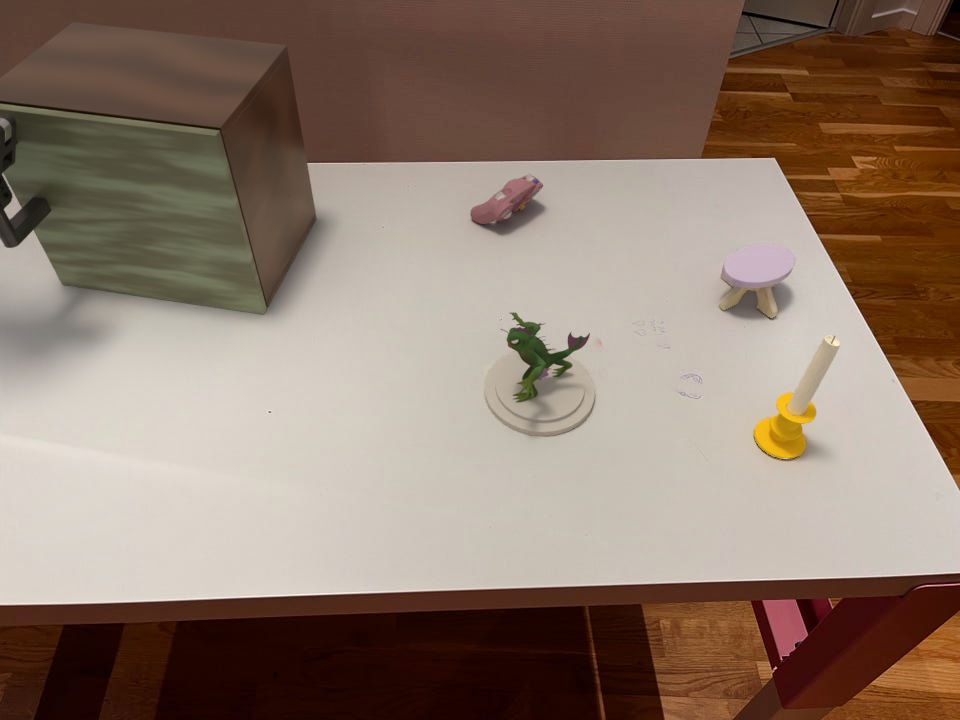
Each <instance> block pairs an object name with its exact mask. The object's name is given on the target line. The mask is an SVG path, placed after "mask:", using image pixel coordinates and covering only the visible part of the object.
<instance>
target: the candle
mask: <svg viewBox="0 0 960 720" xmlns="http://www.w3.org/2000/svg"><path fill="white" fill-rule="evenodd" d="M840 347H841V341H840V340H839V339H838V337H836V335H834V336H833V335H831V334H827V335H824V337H823V338H822V341H821V343H820V344H819V346H818V347H817V349H816V351H815V353H814V355H813V356H812V358H811V360H810V362H809V364H808V366H807V368H806V370H805V371H804V373H803V375H802V377H801V379H800V381H799V382H798V384H797V386H796V388H795V390H794V391H793V392H785V393H783V394H780V395H779V396H778V397H777V398H776V400H775V401H776V402H775V407H776V410H777V411H778V413H776V414H774V415H773V416H771V417H766V418H763V419H761V420H760V421H758V422H757V424H756V426H755V427H754V429H753V438H754V437H755V439H754V442H755V441H756V442H755V443H757V444H758V445H757V444H756V445H757V447H758V446H760V448H762V450H763V451H765V452H766V453H768V454H769V455H771V456H775V457H778V458H782V459H783V458H788V459H789V458H794V457H797V456H799V455H800V456H801V455H802V454H803V453H804V452H805V450H806V447H807V440H806V436H805V434H804V433H803V426H802V425H805V424H810V423H811V422H813V421H814V420H815V419H816V417H817V408H816V406H815V404H814V403H813V401H812V399H813V397H814V396H815V394H816V392H817V391H818V388H819V387H820V385H821V383H822V382H823V380H824V377H825V375H826V374H827V373H828V370H829V368H830V367H831V365H832V364H833V361H834V359H835V357H836V355H837V354H838V351H839V349H840ZM760 448H759V449H760ZM762 450H761V451H762ZM763 451H762V452H763ZM765 452H764V453H765ZM802 452H803V453H802ZM766 453H765V454H766ZM768 454H767V455H768ZM769 455H768V456H769ZM771 456H770V457H771ZM800 456H799V457H800ZM797 458H798V457H797Z"/></svg>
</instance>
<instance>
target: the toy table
mask: <svg viewBox="0 0 960 720" xmlns="http://www.w3.org/2000/svg"><path fill="white" fill-rule="evenodd" d="M795 264H796V257H795V254H794V253H793V252H792V251H791V250H789V249H788V248H786V247H784V246H781V245H779V244H774V243H756V244H750V245H747V246H744V247H741V248H738V249H737V250H735V251H734V252H731V254H728V255H727V257H726V258H725V260H724V263H723V265H722V268H721V273H720V275H719V276H720V278H721V279H722V280H723V281H725V282H726V283H727V284H728V285H729V284H730V285H729V286H730V287H732V288H731V289H730V290H729V291H728V292H727V293H726V294H725V295H724V296H723V298H721V300H720V301H719V303H718V307H719V308H720V310H722V311H724V310H725V311H727V310H729V309H731V308H733V307H735V306H737V305H738V304H739V303H740V301H741V299H742V297H743V296H744V295H745V293H746V292H748V291H752V292H755V294H756V297H757V306H756V308H757V307H758V308H757V310H759V309H760V310H761V311H762V312H764V314H763V315H765V314H766V315H767V316H768V317H770V318H772V319H774V318H776V317H777V316H778V313H779V309H778V305H777V303H776V299H775V296H774V293H773V290H772V289H773V288H775V287H776V286H777V285H778V283H780V282H782V281H784V280H786V279H787V278H788V277H789V276H790V274H791V273H792V271H793V269H794V267H795ZM774 286H775V287H774ZM772 287H773V288H772ZM734 305H735V306H734ZM732 306H733V307H732ZM730 307H731V308H730ZM728 308H729V309H728ZM726 309H727V310H726ZM760 310H759V311H760ZM761 311H760V312H761ZM762 312H761V313H762ZM766 315H765V316H766ZM767 316H766V317H767ZM775 316H776V317H775ZM768 317H767V318H768ZM773 317H774V318H773Z"/></svg>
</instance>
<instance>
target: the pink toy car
mask: <svg viewBox="0 0 960 720" xmlns="http://www.w3.org/2000/svg"><path fill="white" fill-rule="evenodd" d="M543 188H544V184H543V183H542V182H541V181H540V179H539V178H538V177H536V176H534V175H532V174H531V173H529V174H526V175H524V176H521V177H518V178H514V179H510V180H509V181H507V183H506V184H505V185H504V186H503V188H501V189H499V191H497V192H496V193H495V194H494V195H493V196H492V197H490V198H489V199H488V200H487V201H485V202H483V203H480V204H478V205H475V206H473V207H472V208H471V209H470V213H469V215H470V218H471V220H472V221H473V222H475V223H477V224H480V225H481V224H482V225H485V224H490V223H493V222H499V223H502V222H503V221H505V220H507V219H509V218H510V217H511V216H512V212H514V213H517V212H519V211H523V210H524V209H525V205H526V204H528V202H529V201H531V200H532V199H534V197H536V196H537V194H539V193H540V191H542V189H543Z"/></svg>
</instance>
